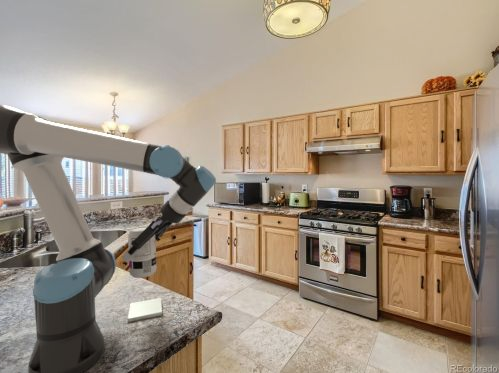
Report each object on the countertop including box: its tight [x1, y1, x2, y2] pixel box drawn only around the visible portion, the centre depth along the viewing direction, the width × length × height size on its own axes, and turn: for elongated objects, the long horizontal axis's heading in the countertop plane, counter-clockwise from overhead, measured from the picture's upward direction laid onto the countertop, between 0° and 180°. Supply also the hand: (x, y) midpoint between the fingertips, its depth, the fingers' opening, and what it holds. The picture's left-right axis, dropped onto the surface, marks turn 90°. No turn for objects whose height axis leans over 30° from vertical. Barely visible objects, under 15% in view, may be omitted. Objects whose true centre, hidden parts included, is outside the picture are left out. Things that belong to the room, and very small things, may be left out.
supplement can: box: [127, 226, 157, 279], centre depth 83 cm, size 8×8×15 cm
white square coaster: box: [127, 297, 163, 322], centre depth 83 cm, size 10×10×1 cm
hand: (133, 255), depth 83 cm, fingers closed on supplement can, 8 cm apart
